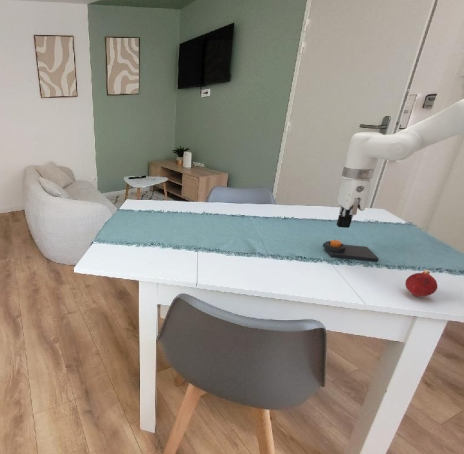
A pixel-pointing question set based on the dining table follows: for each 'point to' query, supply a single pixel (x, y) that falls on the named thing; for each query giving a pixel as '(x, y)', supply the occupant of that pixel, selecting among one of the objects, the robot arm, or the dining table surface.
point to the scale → (350, 252)
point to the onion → (421, 284)
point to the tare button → (335, 243)
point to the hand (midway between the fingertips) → (342, 226)
